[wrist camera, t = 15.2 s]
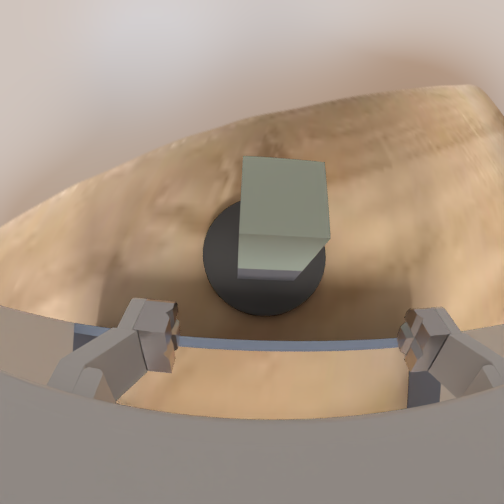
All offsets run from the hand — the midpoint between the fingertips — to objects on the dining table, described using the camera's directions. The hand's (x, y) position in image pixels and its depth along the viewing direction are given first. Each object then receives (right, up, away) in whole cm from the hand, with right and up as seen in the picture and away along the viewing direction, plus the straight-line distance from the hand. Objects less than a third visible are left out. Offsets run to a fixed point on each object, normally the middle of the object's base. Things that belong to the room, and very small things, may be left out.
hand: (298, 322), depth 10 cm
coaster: (-1, +2, +13) cm, 13 cm away
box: (-1, +2, +12) cm, 12 cm away
